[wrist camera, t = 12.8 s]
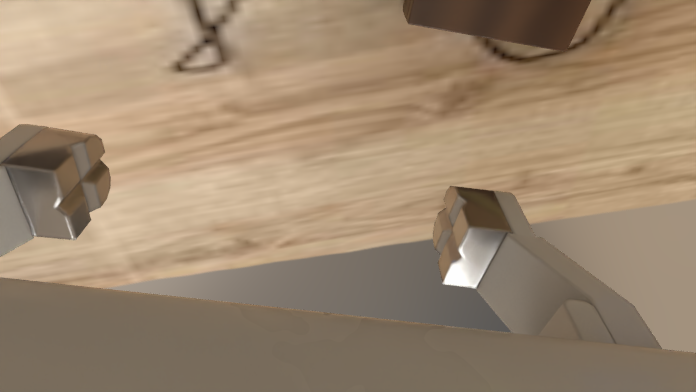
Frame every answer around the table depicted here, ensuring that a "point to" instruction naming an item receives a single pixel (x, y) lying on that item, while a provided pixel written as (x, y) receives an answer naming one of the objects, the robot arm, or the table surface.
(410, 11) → the desk riser
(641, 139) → the table surface
